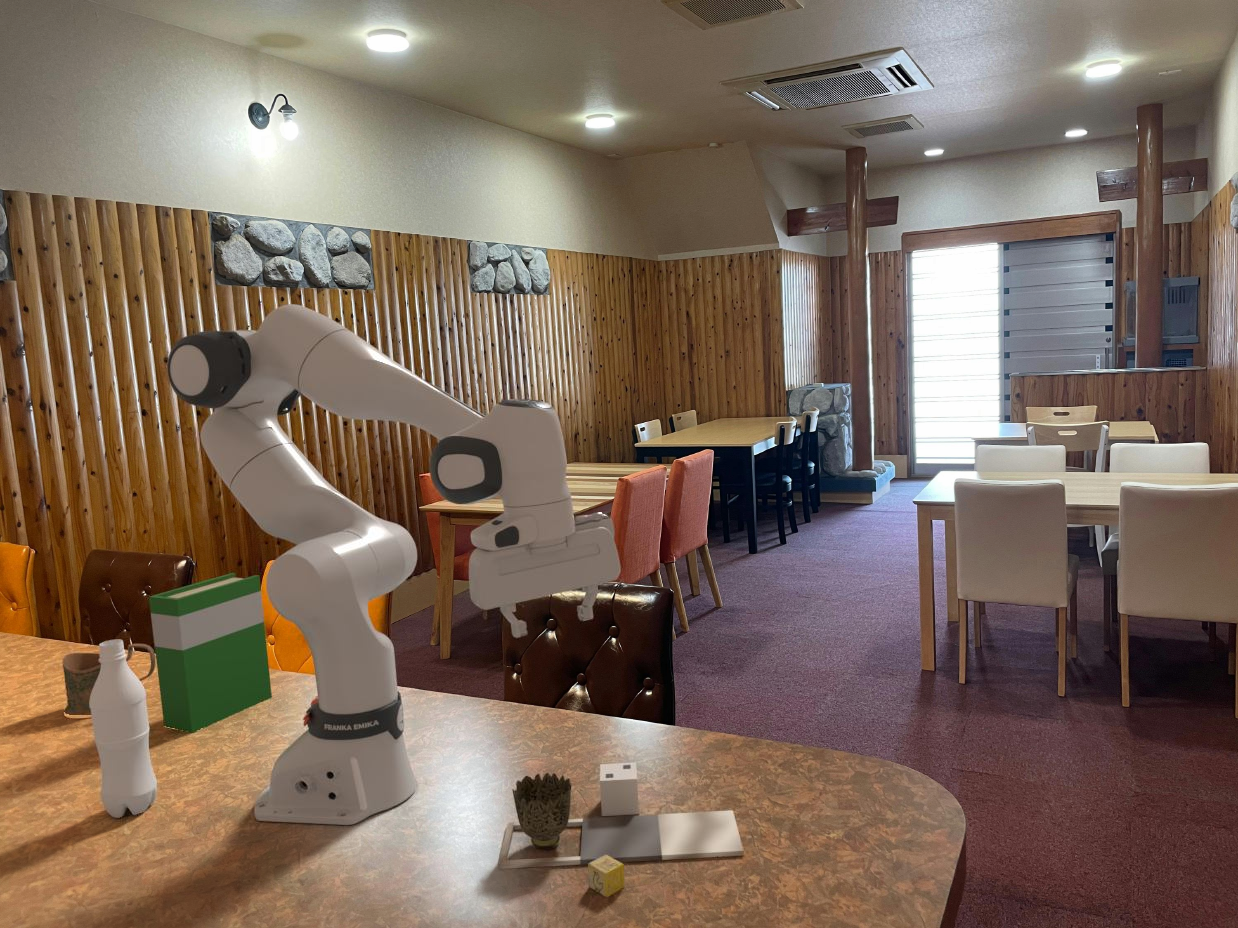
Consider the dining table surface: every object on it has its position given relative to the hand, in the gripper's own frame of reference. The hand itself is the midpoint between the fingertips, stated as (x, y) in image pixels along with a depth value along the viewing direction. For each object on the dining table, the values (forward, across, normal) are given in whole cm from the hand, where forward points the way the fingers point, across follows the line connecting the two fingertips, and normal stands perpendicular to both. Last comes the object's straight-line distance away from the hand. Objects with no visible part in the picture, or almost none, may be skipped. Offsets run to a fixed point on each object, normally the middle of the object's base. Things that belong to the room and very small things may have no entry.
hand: (553, 627), depth 119 cm
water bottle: (+23, +53, -40) cm, 70 cm away
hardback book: (+21, +38, -74) cm, 86 cm away
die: (+27, -7, -1) cm, 28 cm away
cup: (+27, +6, +3) cm, 28 cm away
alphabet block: (+28, +4, +15) cm, 32 cm away
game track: (+27, -3, +7) cm, 28 cm away
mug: (+20, +56, -90) cm, 108 cm away
